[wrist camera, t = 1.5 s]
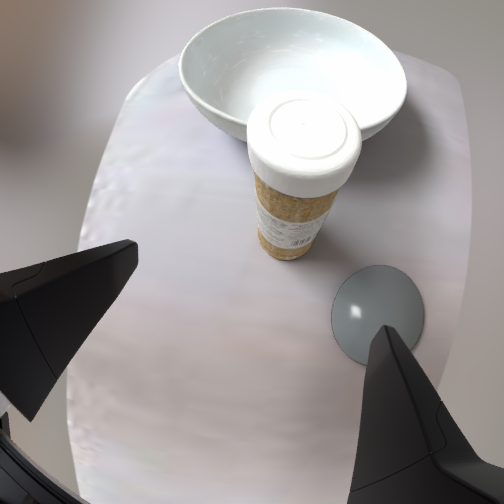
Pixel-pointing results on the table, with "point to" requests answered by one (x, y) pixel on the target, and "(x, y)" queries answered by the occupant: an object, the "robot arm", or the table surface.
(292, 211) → the sprinkles bottle
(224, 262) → the table surface
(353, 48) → the serving bowl
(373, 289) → the coaster
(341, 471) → the table surface
